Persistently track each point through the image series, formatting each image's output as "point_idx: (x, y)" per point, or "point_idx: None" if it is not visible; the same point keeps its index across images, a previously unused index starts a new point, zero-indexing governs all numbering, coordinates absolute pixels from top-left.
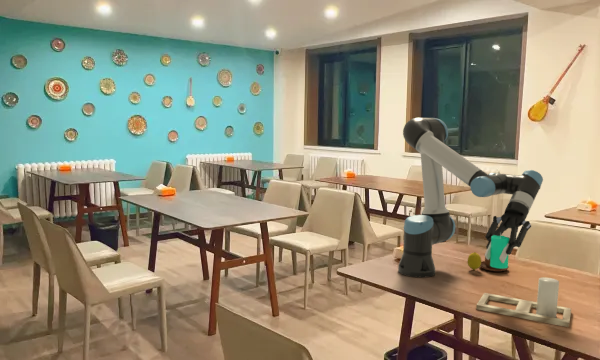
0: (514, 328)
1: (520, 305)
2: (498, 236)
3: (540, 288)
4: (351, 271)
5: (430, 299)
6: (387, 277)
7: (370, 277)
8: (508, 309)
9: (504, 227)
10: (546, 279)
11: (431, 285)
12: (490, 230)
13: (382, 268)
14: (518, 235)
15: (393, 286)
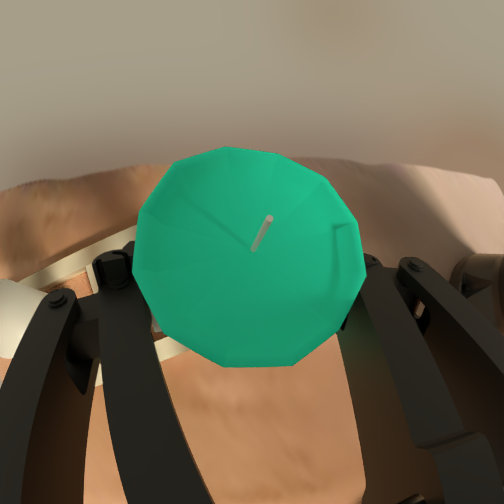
0: (87, 176)
1: None
2: (326, 315)
3: (31, 288)
4: (492, 188)
5: (328, 165)
6: (464, 213)
7: (467, 186)
8: (132, 240)
9: (392, 486)
10: (10, 322)
11: (405, 255)
12: (463, 316)
13: (500, 253)
14: (37, 375)
15: (421, 174)
